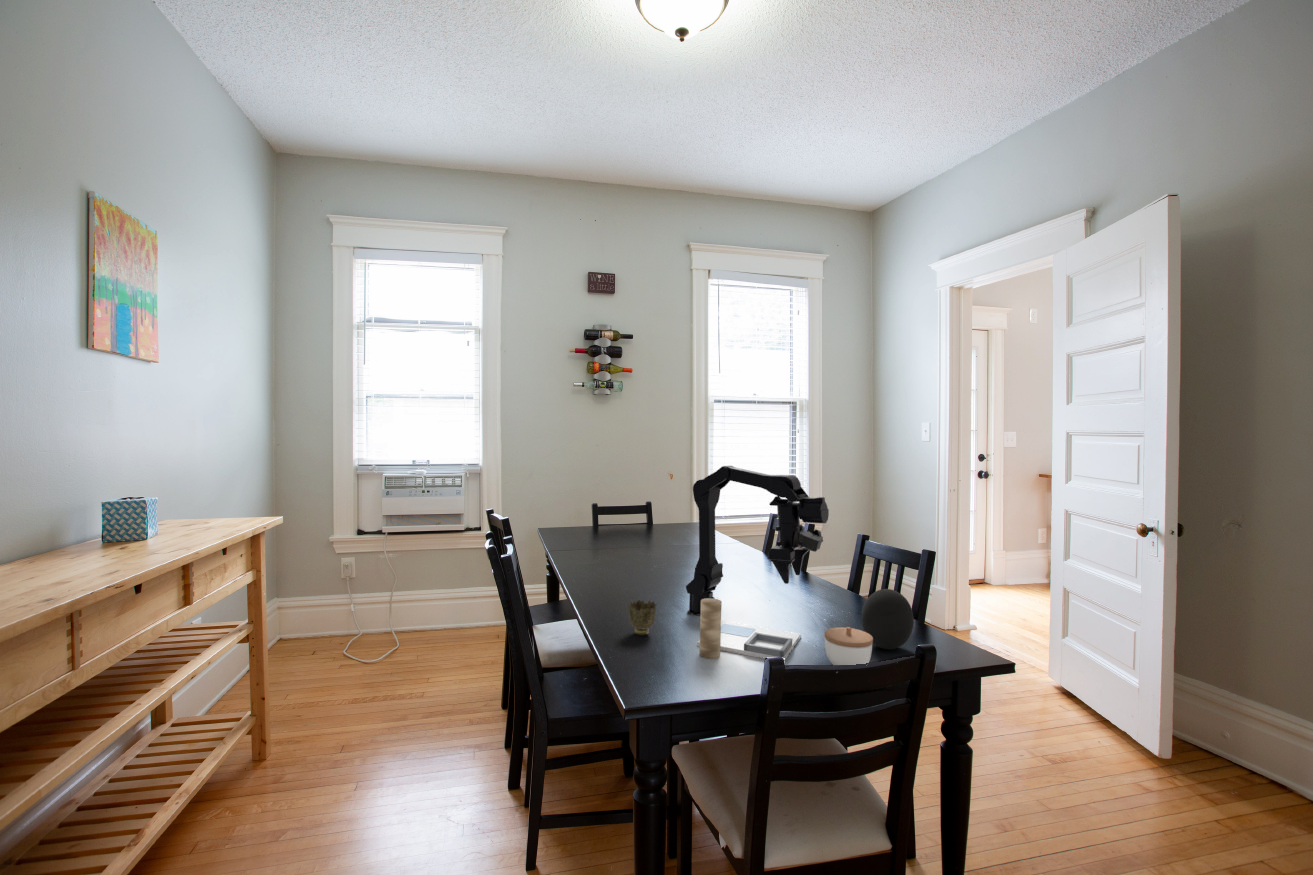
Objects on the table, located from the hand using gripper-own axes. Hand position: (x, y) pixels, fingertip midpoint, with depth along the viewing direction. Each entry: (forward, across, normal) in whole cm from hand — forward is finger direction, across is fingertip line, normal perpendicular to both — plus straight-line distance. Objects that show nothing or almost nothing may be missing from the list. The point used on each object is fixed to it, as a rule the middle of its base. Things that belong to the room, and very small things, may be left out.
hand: (792, 579), depth 164 cm
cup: (+11, -26, +33) cm, 43 cm away
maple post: (+12, -28, +12) cm, 33 cm away
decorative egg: (+16, +2, -23) cm, 28 cm away
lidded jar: (+15, -17, -18) cm, 29 cm away
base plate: (+13, -14, +7) cm, 21 cm away
